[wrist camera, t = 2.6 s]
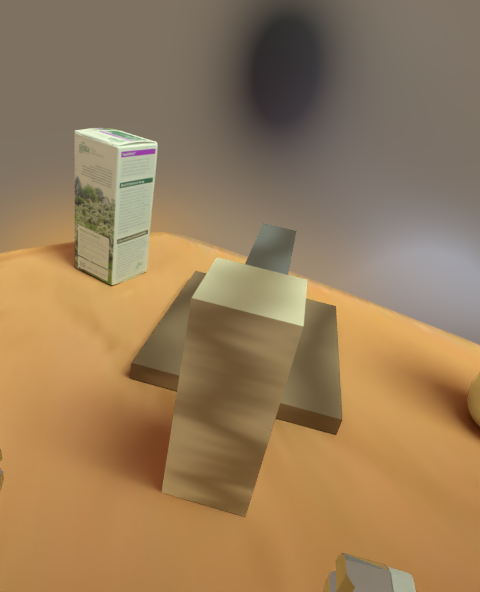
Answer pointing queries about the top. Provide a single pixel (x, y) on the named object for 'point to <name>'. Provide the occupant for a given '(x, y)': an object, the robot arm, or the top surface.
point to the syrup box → (113, 203)
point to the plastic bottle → (474, 400)
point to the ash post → (232, 382)
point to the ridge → (307, 361)
